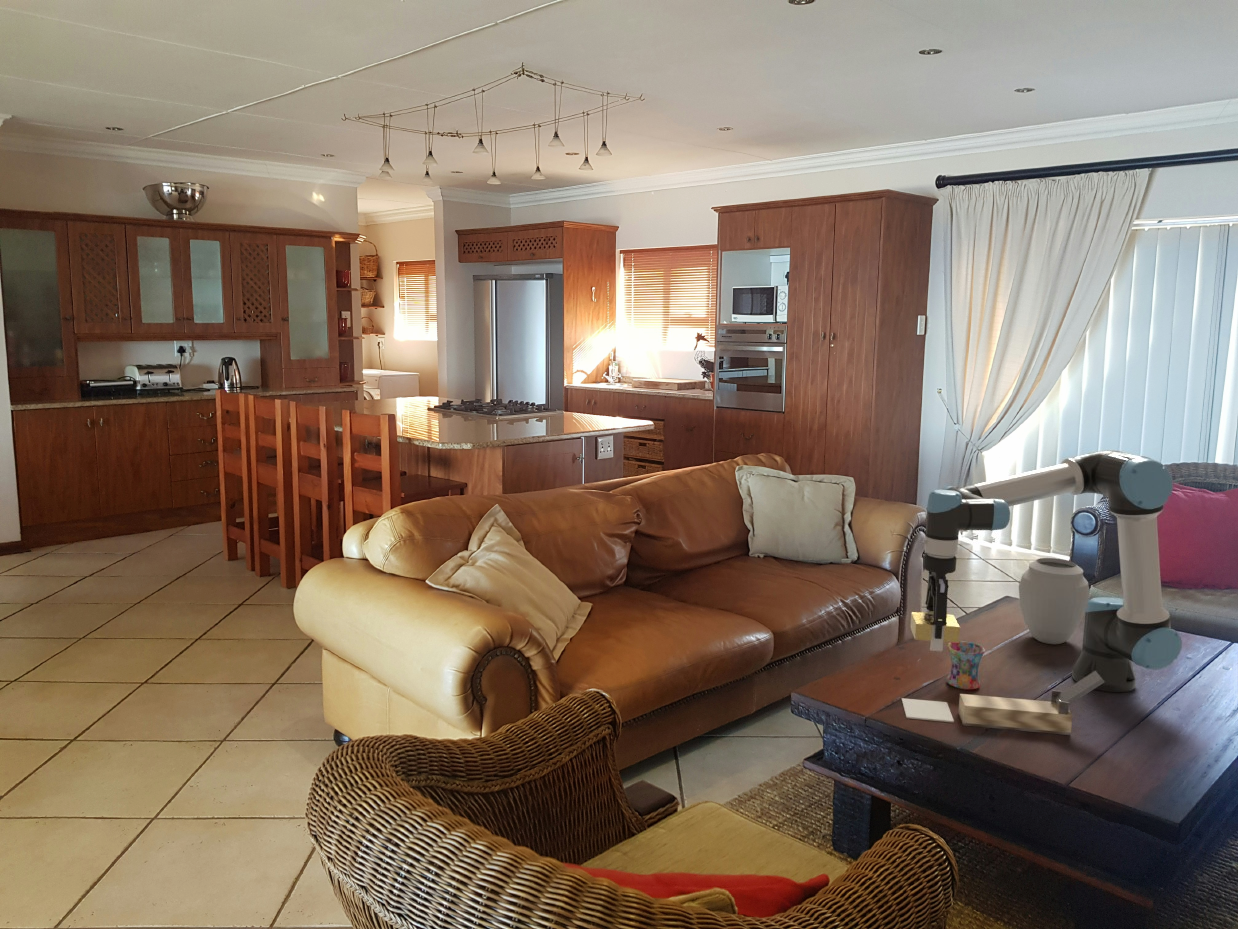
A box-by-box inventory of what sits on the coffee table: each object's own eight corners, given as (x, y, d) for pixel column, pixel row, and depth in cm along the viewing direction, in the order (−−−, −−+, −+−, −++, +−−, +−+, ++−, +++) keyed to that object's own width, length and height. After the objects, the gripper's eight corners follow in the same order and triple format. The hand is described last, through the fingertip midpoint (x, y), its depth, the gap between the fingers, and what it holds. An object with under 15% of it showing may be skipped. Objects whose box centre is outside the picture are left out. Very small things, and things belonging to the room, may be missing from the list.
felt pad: (946, 703, 231) (946, 702, 231) (953, 722, 221) (953, 721, 221) (901, 699, 234) (901, 698, 233) (906, 718, 223) (906, 716, 223)
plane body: (1062, 722, 222) (1065, 691, 220) (1070, 735, 215) (1073, 703, 214) (958, 712, 226) (960, 682, 225) (963, 725, 219) (965, 693, 218)
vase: (1081, 656, 265) (1089, 575, 261) (1009, 643, 275) (1016, 565, 271) (1087, 637, 281) (1095, 560, 277) (1019, 625, 291) (1026, 551, 287)
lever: (1056, 701, 220) (1098, 673, 218) (1062, 710, 215) (1105, 682, 212) (1053, 697, 220) (1094, 669, 218) (1059, 706, 215) (1102, 678, 212)
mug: (971, 695, 237) (974, 656, 235) (938, 684, 244) (941, 646, 242) (992, 683, 245) (996, 645, 243) (960, 673, 252) (962, 636, 250)
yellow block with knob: (952, 630, 227) (953, 611, 226) (958, 643, 218) (960, 623, 218) (910, 627, 229) (911, 608, 228) (914, 639, 220) (916, 620, 219)
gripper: (918, 542, 232) (911, 627, 235) (930, 565, 210) (923, 658, 214) (949, 544, 230) (942, 629, 234) (964, 567, 209) (956, 660, 213)
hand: (933, 643), depth 224 cm, fingers closed on yellow block with knob, 9 cm apart
